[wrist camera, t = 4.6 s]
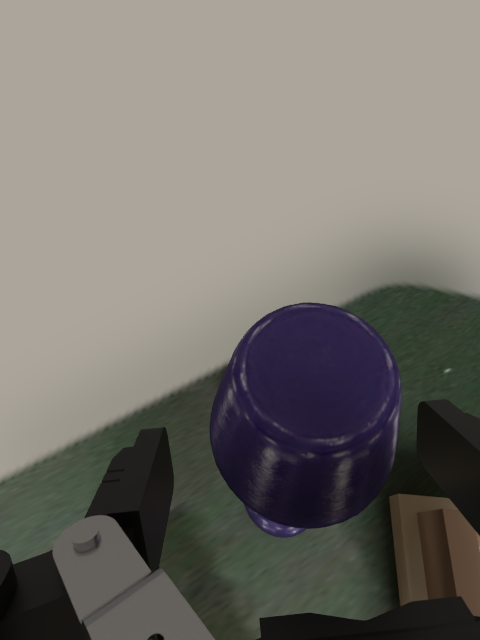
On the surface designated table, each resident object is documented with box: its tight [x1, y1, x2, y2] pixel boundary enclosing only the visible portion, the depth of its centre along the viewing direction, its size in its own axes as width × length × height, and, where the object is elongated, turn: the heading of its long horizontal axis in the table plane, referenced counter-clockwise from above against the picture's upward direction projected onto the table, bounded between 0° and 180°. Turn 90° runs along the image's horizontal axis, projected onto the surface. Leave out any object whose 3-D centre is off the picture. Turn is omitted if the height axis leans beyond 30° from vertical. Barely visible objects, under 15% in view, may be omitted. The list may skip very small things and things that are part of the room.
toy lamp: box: [210, 303, 401, 538], centre depth 14 cm, size 5×5×17 cm
